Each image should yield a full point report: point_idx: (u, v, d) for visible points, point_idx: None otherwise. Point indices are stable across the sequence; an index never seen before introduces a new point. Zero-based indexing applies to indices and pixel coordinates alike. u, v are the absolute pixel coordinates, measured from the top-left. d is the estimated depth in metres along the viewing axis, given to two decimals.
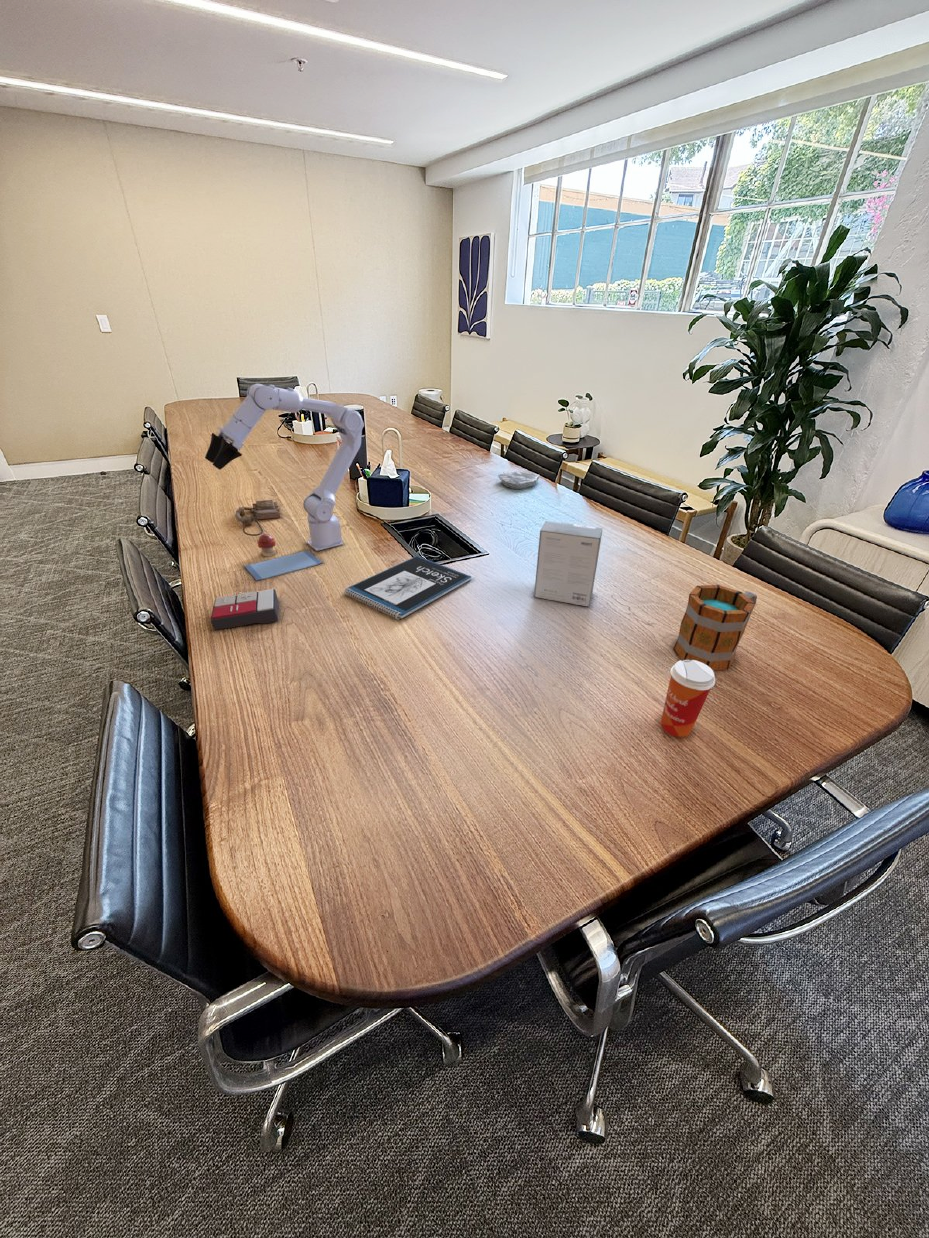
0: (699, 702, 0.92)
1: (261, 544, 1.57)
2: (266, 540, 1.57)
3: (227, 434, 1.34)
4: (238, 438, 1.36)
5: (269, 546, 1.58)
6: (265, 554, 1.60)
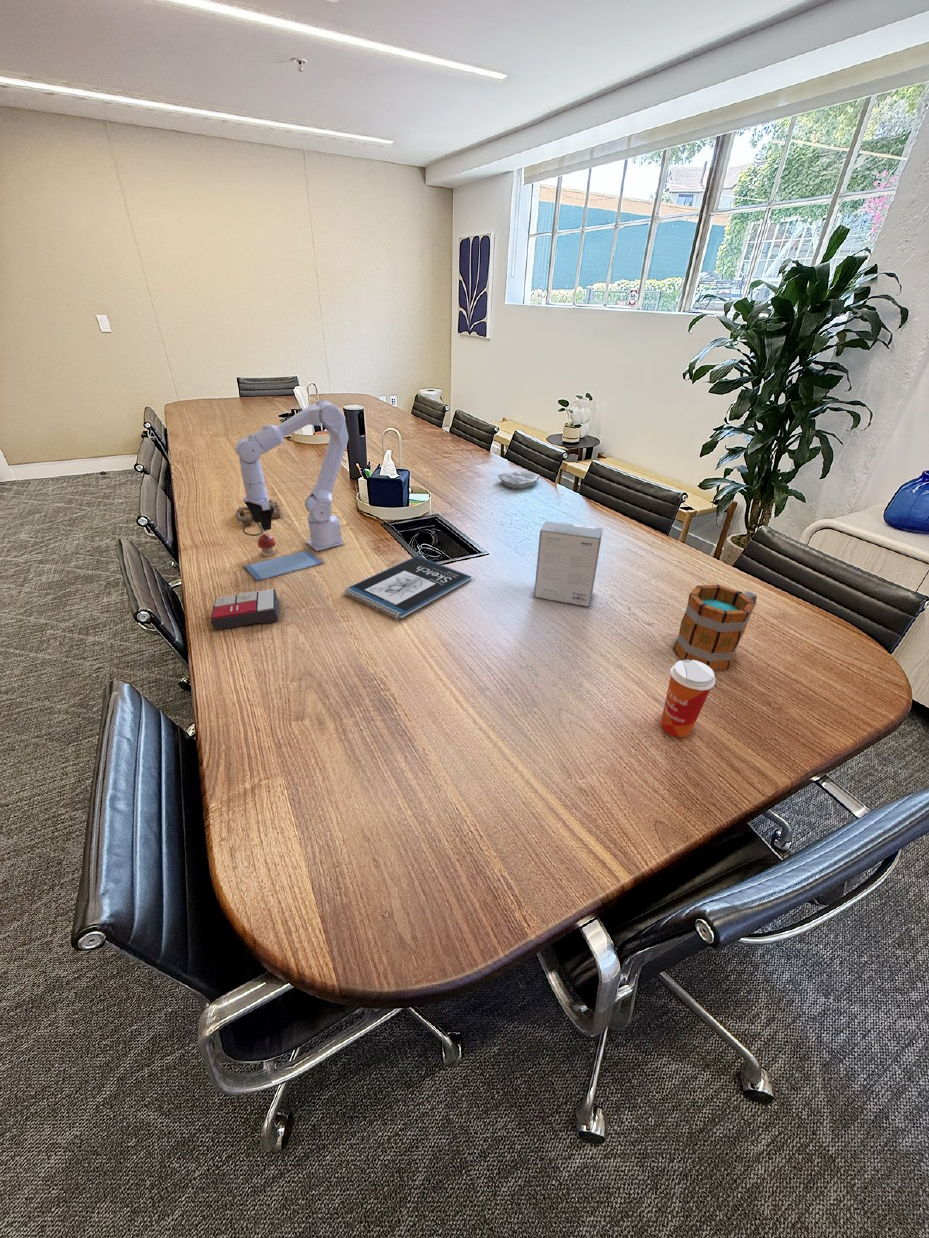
0: (699, 702, 0.92)
1: (261, 544, 1.57)
2: (266, 540, 1.57)
3: (252, 502, 1.49)
4: (261, 497, 1.50)
5: (269, 546, 1.58)
6: (265, 554, 1.60)
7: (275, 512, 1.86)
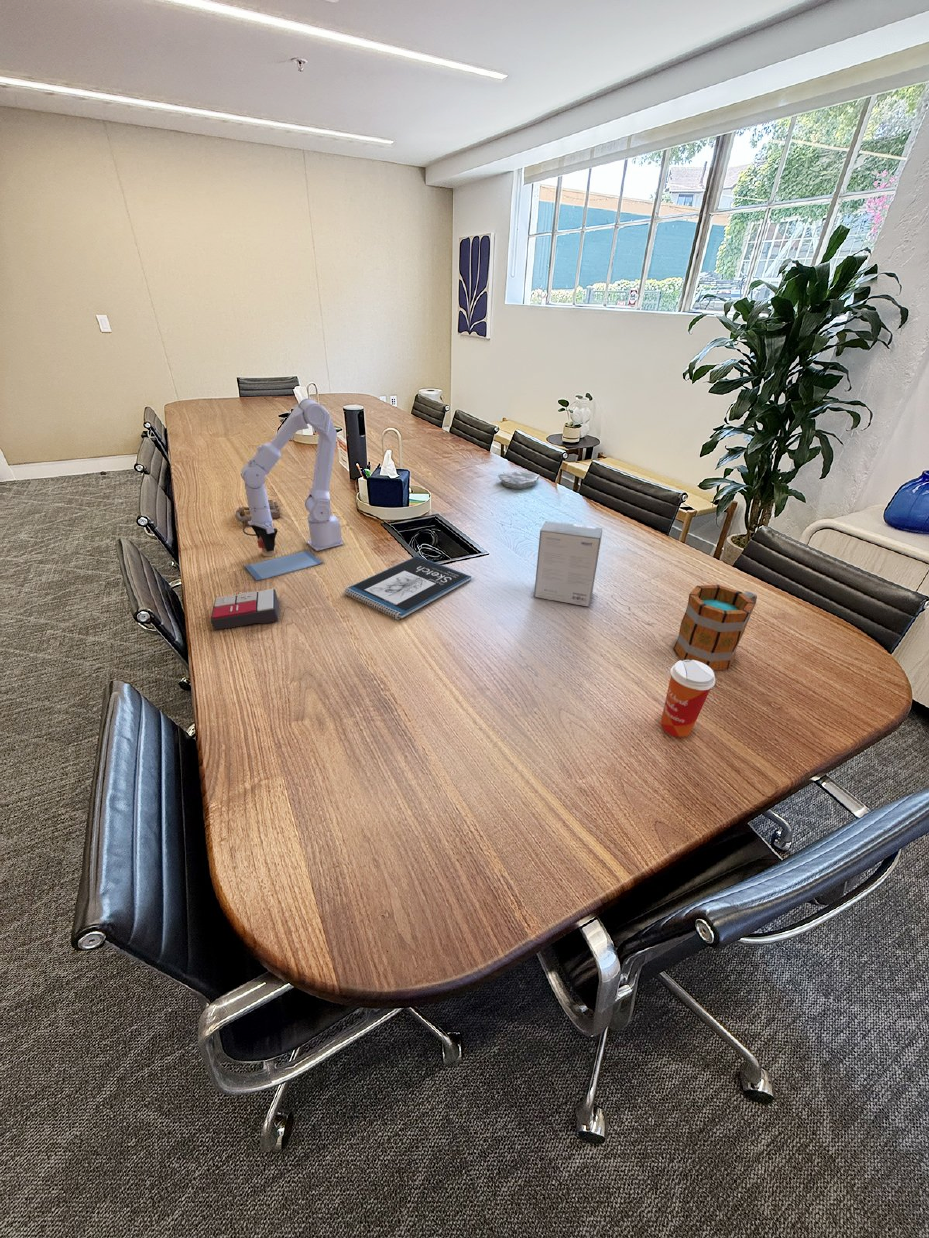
0: (699, 702, 0.92)
1: (261, 544, 1.57)
2: None
3: (257, 525, 1.53)
4: (266, 520, 1.54)
5: None
6: (265, 554, 1.60)
7: (275, 512, 1.86)
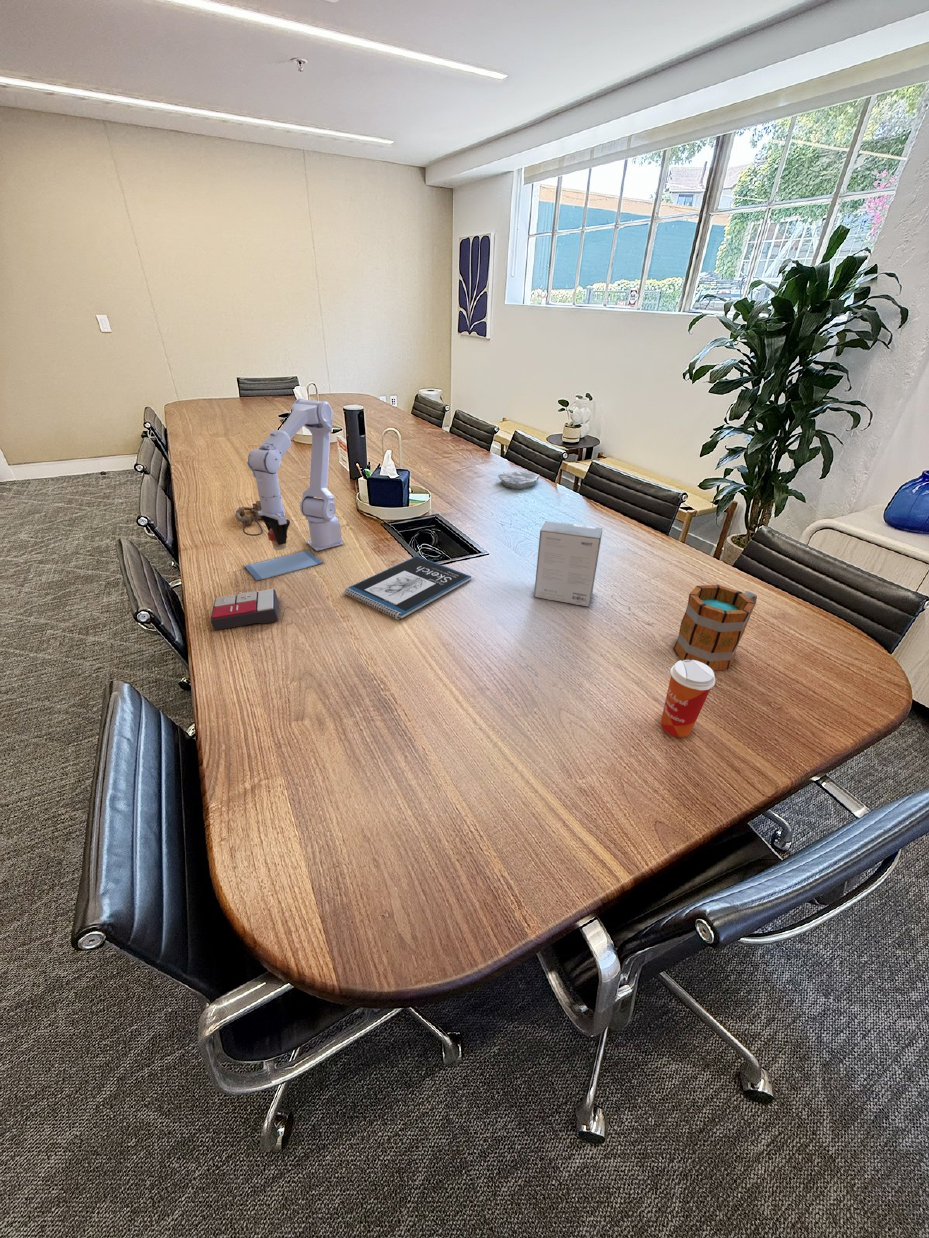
0: (699, 702, 0.92)
1: (272, 537, 1.44)
2: None
3: (268, 515, 1.40)
4: (278, 510, 1.41)
5: None
6: (276, 548, 1.47)
7: None
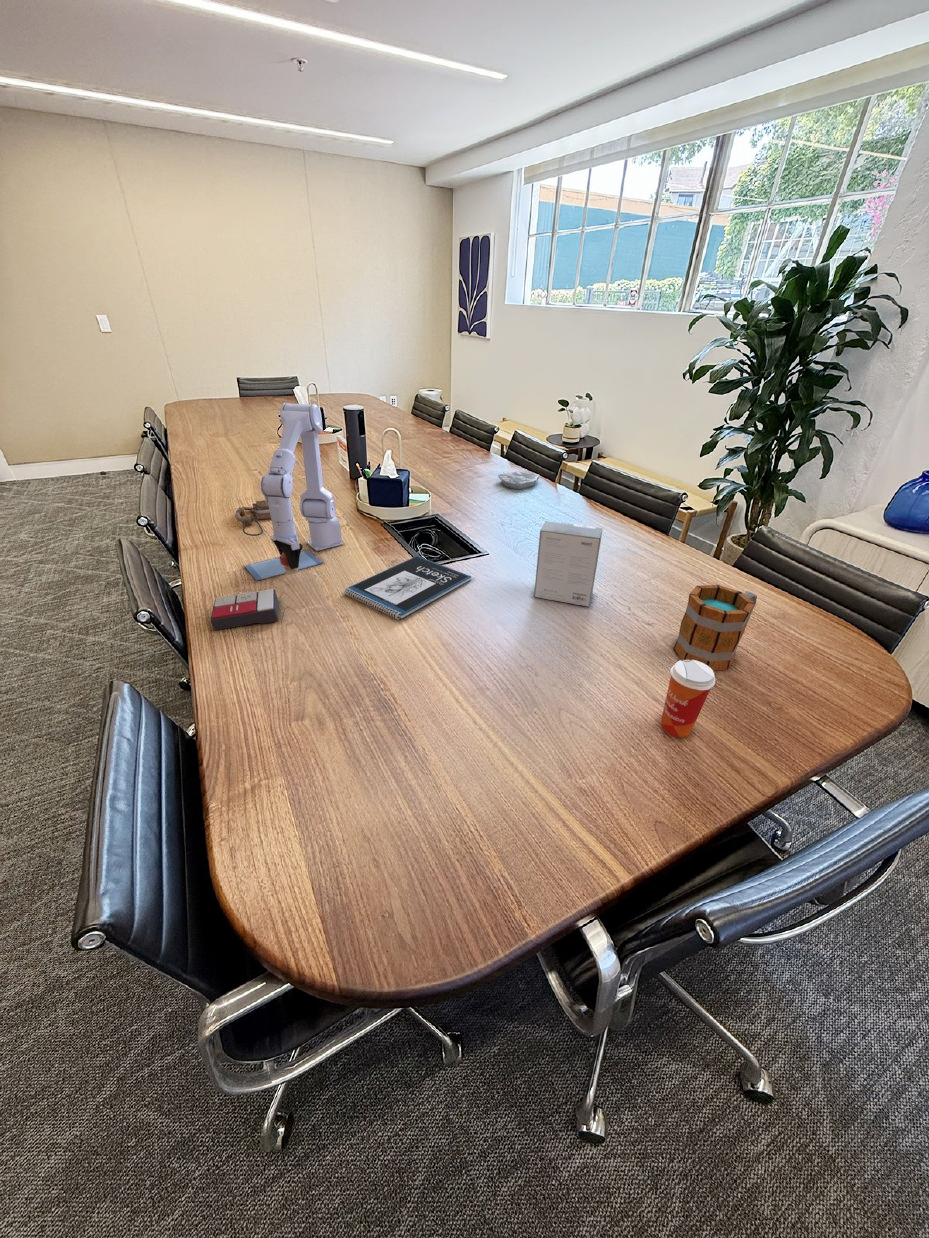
0: (699, 702, 0.92)
1: (284, 561, 1.42)
2: None
3: (281, 540, 1.38)
4: (290, 535, 1.39)
5: None
6: (288, 572, 1.45)
7: None
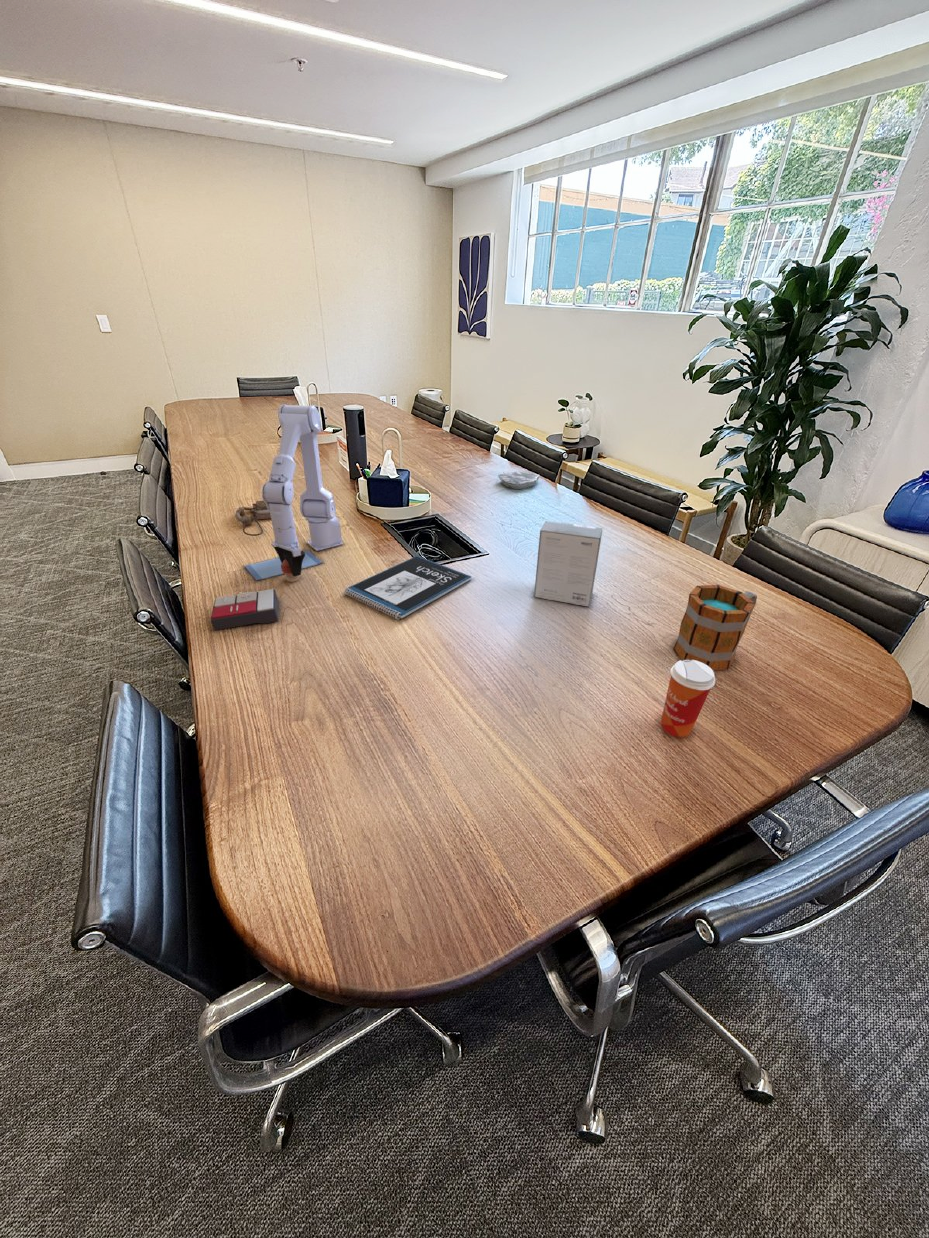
0: (699, 702, 0.92)
1: (285, 569, 1.43)
2: None
3: (282, 547, 1.39)
4: (291, 541, 1.40)
5: None
6: (289, 579, 1.46)
7: None
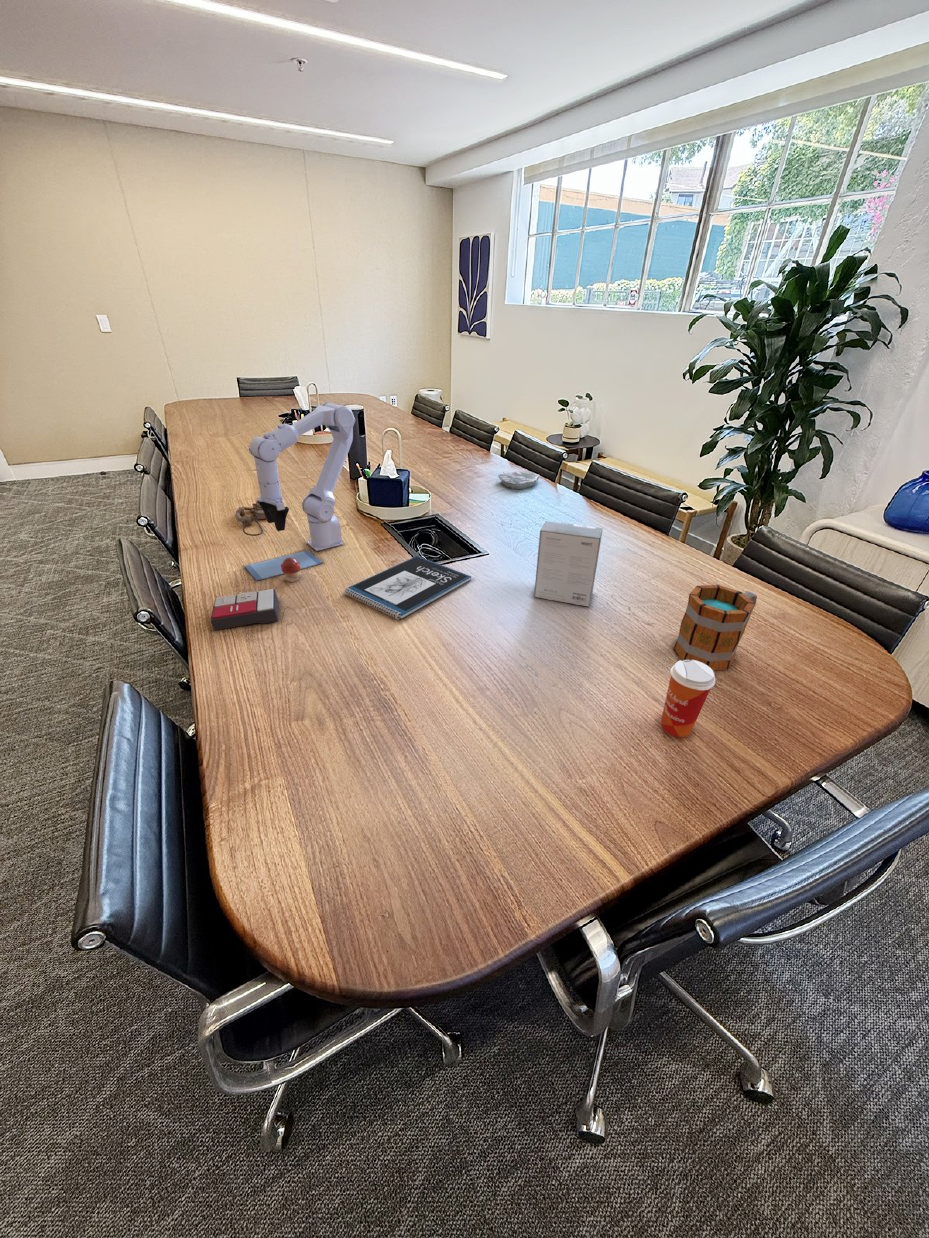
0: (699, 702, 0.92)
1: (285, 569, 1.43)
2: (291, 564, 1.43)
3: (267, 501, 1.46)
4: (276, 497, 1.47)
5: (294, 571, 1.44)
6: (289, 579, 1.46)
7: None
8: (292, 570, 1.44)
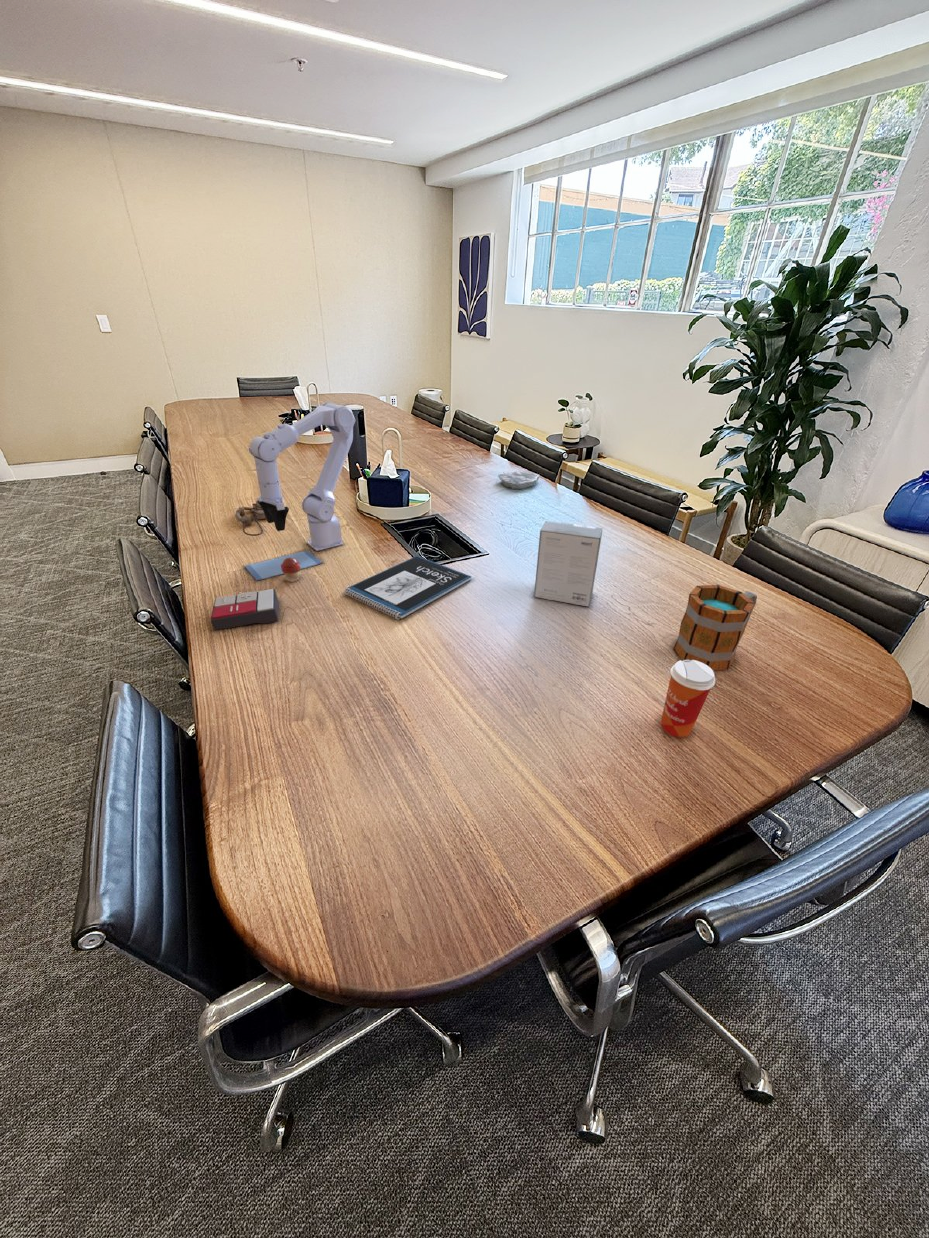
0: (699, 702, 0.92)
1: (285, 569, 1.43)
2: (291, 564, 1.43)
3: (267, 501, 1.46)
4: (276, 497, 1.47)
5: (294, 571, 1.44)
6: (289, 579, 1.46)
7: None
8: (292, 570, 1.44)
